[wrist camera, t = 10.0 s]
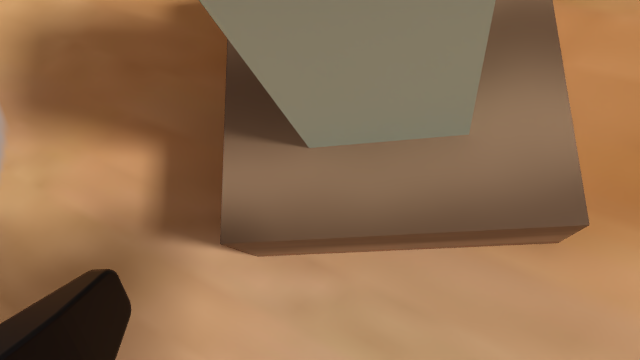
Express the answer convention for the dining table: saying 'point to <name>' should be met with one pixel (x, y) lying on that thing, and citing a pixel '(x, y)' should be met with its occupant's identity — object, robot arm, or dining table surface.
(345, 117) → the sage block
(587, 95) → the dining table surface
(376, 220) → the walnut base block
